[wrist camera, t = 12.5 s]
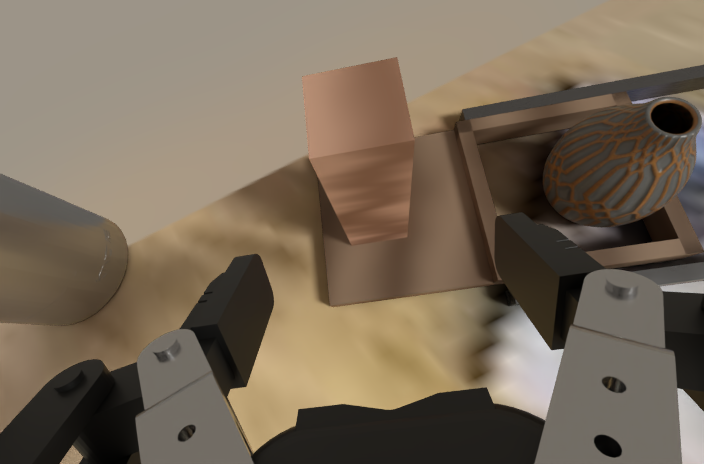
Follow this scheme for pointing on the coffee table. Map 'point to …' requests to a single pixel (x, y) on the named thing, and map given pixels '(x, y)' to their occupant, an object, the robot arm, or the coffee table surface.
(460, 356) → the coffee table surface
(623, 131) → the vase
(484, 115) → the lane rails
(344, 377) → the coffee table surface
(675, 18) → the coffee table surface
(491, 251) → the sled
